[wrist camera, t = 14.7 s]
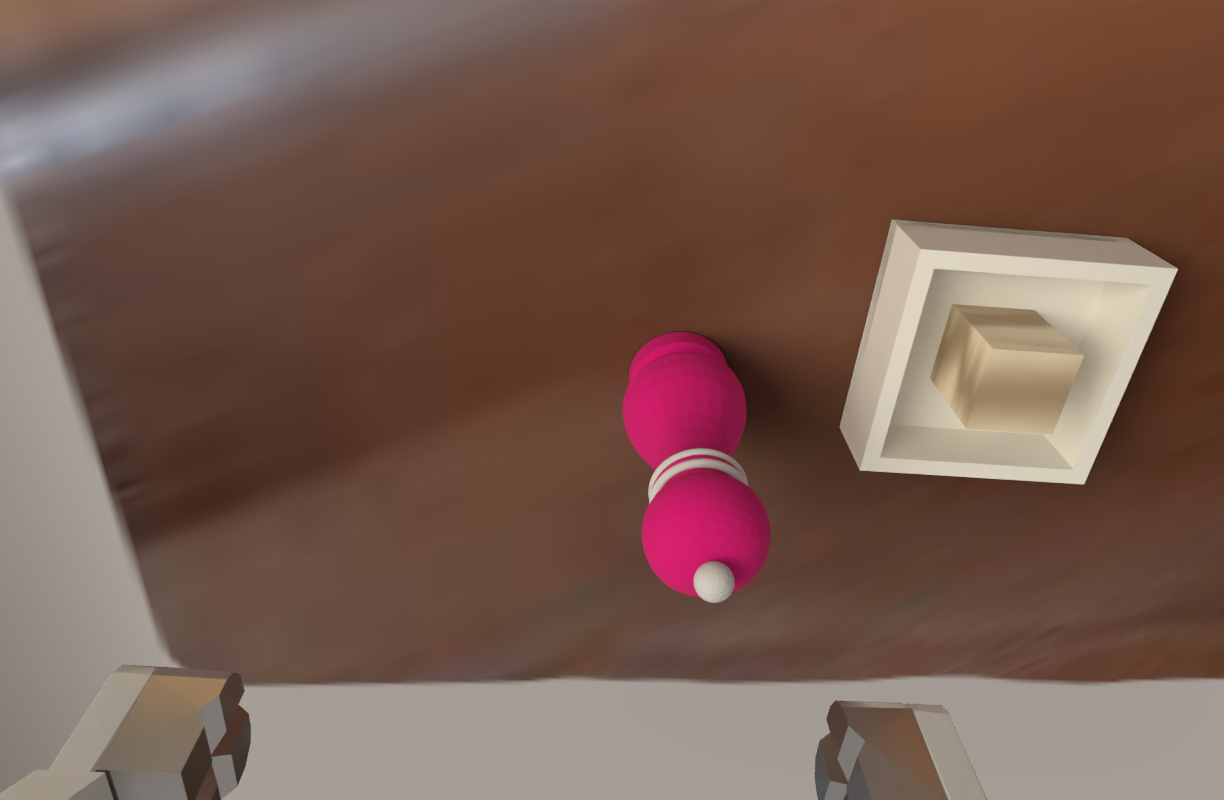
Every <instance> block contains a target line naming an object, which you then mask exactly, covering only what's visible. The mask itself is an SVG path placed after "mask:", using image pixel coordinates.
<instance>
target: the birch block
mask: <svg viewBox="0 0 1224 800" xmlns="http://www.w3.org/2000/svg"><path fill="white" fill-rule="evenodd" d="M1083 357H1084V354H1082V353H1081V352H1080V351H1079V350H1078V349H1077V348H1076V347H1075V346H1074V345H1072V344H1071V343H1070V342H1069V341H1068V340H1067V339H1066V338H1065V337H1064V336H1062V335H1061V334H1060V333H1059V332H1058V331H1057V330H1056V329H1055V328H1054V327H1053V326H1051V325H1050V324H1049V323H1048V322H1047V321H1046V320H1045V319H1044V318H1043V317H1041V316H1040V315H1039V314H1038V313H1037V312H1036V311H1035V310H1028V309H1014V308H1000V307H987V306H973V305H959V304H952V307H951V310H950V313H949V317H948V320H947V323H946V326H945V330H944V333H943V336H942V340H941V343H940V346H939V349H938V353H937V356H936V359H935V363H934V366H933V369H932V373H931V376H930V379H931V381H932V382H933V383H934V385H935V386H936V388H937V389H938V390H939V392H940V393H941V395H942V396H943V397H944V399H945V400H946V402H947V403H948V404H949V406H950V407H951V409H952V410H953V411H954V413H955V414H956V415H957V417H958V418H959V420H960V421H961V422H962V424H963V425H964V427H965V428H966V429H976V430H991V431H1007V432H1022V433H1037V434H1052V435H1053V432H1054V430H1055V427H1056V425H1057V422H1058V420H1059V417H1060V415H1061V412H1062V410H1063V407H1064V405H1065V402H1066V400H1067V397H1068V395H1069V392H1070V390H1071V387H1072V385H1073V382H1074V380H1075V377H1076V375H1077V372H1078V370H1079V367H1080V365H1081V362H1082V360H1083Z"/></svg>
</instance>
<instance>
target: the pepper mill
mask: <svg viewBox="0 0 1224 800" xmlns="http://www.w3.org/2000/svg"><path fill="white" fill-rule="evenodd" d="M746 413H747V409H746V402H745V395H744V391H743V388H742V385H741V383H740V382H739V380H738V378H737V377H736V375H735V374H734V373H733V371H732V370H731V369H730V368H729V367H728V366H727V363H726V360H725V357H724V355H723V354H722V352H721V351H720V349H719V348H718V347H717V346H716V345H715V344H714V343H712V342H711V341H710V340H709V339H707V338H705V337H703V336H701V335H698V334H695V333H690V332H671V333H667V334H663V335H661V336H658V337H656V338H654V339H652V340H651V341H649V342H648V343H647V344H645V345H644V346H643V347H642V348H641V349H640V350H639V351H638V353H637V354H636V356H635V357H634V359H633V361H632V364H631V366H630V371H629V385H628V387H627V390H626V393H625V397H624V400H623V418H624V423H625V427H626V431H627V435H628V437H629V439H630V441H631V443H632V444H633V446H634V448H635V449H636V451H637V452H638V454H639V455H640V456H641V457H642V458H643V459H644V460H645V461H646V462H647V463H648V464H649V465H650V466H651V467H652V468H653V469H654V470H655V472H654V473H653V476H652V478H651V480H650V483H649V491H648V494H649V505H648V507H647V509H646V511H645V516H644V520H643V524H642V541H643V547H644V552H645V555H646V557H647V560H648V562H649V564H650V566H651V568H652V569H653V571H654V572H655V573H656V575H657V576H658V577H659V578H660V579H661V580H662V582H664V583H665V584H666V585H668V586H669V587H671V588H673V589H675V590H676V591H678V592H680V593H683V594H686V595H690V596H695V597H701V598H702V599H704V600H705V601H708V602H712V603H717V602H721V601H724V600H725V599H727V598H728V597H729V596H730V594H731V593H734V592H736V591H738V590H739V589H741V588H743V587H744V586H746V585H747V584H748V583H749V582H750V581H752V580H753V579H754V578H755V576H756V575H757V574H758V573H759V571H760V570H761V568H762V566H763V565H764V562H765V560H766V558H767V554H768V550H769V546H770V535H771V532H770V524H769V520H768V516H767V513H766V510H765V508H764V506H763V504H762V502H761V500H760V499H759V497H758V496H757V495H756V494H755V492H754V491H753V490H752V489H751V488H750V487H749V486H748V482H747V477H746V474H745V472H744V471H743V469H742V467H741V466H740V465H739V464H738V463H737V462H736V461H735V460H734V459H733V458H732V455H733V453H734V452H735V450H736V448H737V447H738V445H739V443H740V441H741V438H742V435H743V431H744V427H745V423H746Z"/></svg>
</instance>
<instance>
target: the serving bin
mask: <svg viewBox="0 0 1224 800" xmlns="http://www.w3.org/2000/svg"><path fill="white" fill-rule="evenodd" d="M1177 270H1178V268H1176V267H1174V266H1173V265H1171V264H1169V263H1168V262H1166V261H1164V260H1163V259H1161V258H1159V257H1158V256H1156V255H1154V254H1153V253H1151V252H1150V251H1148V250H1146V249H1145V248H1143V247H1141V246H1140V245H1138V244H1136V243H1135V242H1133V241H1131V240H1130V239H1128V238H1122V237H1109V236H1096V235H1084V234H1071V233H1058V232H1045V231H1033V230H1020V229H1007V228H994V227H982V226H969V225H956V224H943V223H931V222H918V221H905V220H892V221H891V225H890V229H889V233H888V237H887V241H886V245H885V249H884V253H883V257H882V260H881V264H880V268H879V272H878V276H877V280H876V284H875V288H874V292H873V296H872V300H871V304H870V308H869V312H868V316H867V320H866V324H865V328H864V332H863V336H862V340H861V344H860V348H859V351H858V355H857V359H856V363H855V367H854V371H853V375H852V379H851V383H850V387H849V391H848V395H847V399H846V403H845V407H844V411H843V415H842V419H841V423H840V429H841V432H842V434H843V436H844V438H845V440H846V442H847V444H848V446H849V449H850V451H851V453H852V455H853V457H854V459H855V461H856V463H857V465H858V468H859V470H862V471H878V472H894V473H910V474H926V475H942V476H958V477H974V478H990V479H1007V480H1023V481H1039V482H1055V483H1071V484H1084V483H1085V481H1086V479H1087V476H1088V474H1089V472H1090V470H1091V467H1092V465H1093V463H1094V460H1095V458H1096V456H1097V454H1098V451H1099V449H1100V447H1101V444H1102V442H1103V440H1104V438H1105V435H1106V433H1107V431H1108V428H1109V426H1110V424H1111V421H1112V419H1113V417H1114V415H1115V412H1116V410H1117V408H1118V405H1119V403H1120V401H1121V399H1122V396H1123V394H1124V392H1125V389H1126V387H1127V385H1128V383H1129V380H1130V378H1131V376H1132V373H1133V371H1134V369H1135V367H1136V364H1137V362H1138V360H1139V357H1140V355H1141V353H1142V350H1143V348H1144V346H1145V344H1146V341H1147V339H1148V337H1149V334H1150V332H1151V330H1152V328H1153V325H1154V323H1155V321H1156V318H1157V316H1158V314H1159V312H1160V309H1161V307H1162V305H1163V302H1164V300H1165V298H1166V296H1167V293H1168V291H1169V289H1170V286H1171V284H1172V282H1173V279H1174V277H1175V275H1176V273H1177ZM952 304H959V305H973V306H987V307H1000V308H1014V309H1028V310H1035V311H1036V312H1037V313H1038V314H1039V315H1040V316H1041V317H1043V318H1044V319H1045V320H1046V321H1047V322H1048V323H1049V324H1050V325H1051V326H1053V327H1054V328H1055V329H1056V330H1057V331H1058V332H1059V333H1060V334H1061V335H1062V336H1064V337H1065V338H1066V339H1067V340H1068V341H1069V342H1070V343H1071V344H1072V345H1074V346H1075V347H1076V348H1077V349H1078V350H1079V351H1080V352H1081V353H1082V354H1084V357H1083V360H1082V362H1081V365H1080V367H1079V370H1078V372H1077V375H1076V377H1075V380H1074V382H1073V385H1072V387H1071V390H1070V392H1069V395H1068V397H1067V400H1066V402H1065V405H1064V407H1063V410H1062V412H1061V415H1060V417H1059V420H1058V422H1057V425H1056V427H1055V430H1054V432H1053V435H1052V434H1037V433H1022V432H1007V431H991V430H976V429H966V428H965V427H964V425H963V424H962V422H961V421H960V420H959V418H958V417H957V415H956V414H955V413H954V411H953V410H952V409H951V407H950V406H949V404H948V403H947V402H946V400H945V399H944V397H943V396H942V395H941V393H940V392H939V390H938V389H937V388H936V386H935V385H934V383H933V382H932V381H931V379H930V376H931V373H932V369H933V366H934V363H935V359H936V356H937V353H938V349H939V346H940V343H941V340H942V336H943V333H944V330H945V326H946V323H947V320H948V317H949V313H950V310H951V307H952Z"/></svg>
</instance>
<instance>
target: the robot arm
mask: <svg viewBox="0 0 1224 800" xmlns="http://www.w3.org/2000/svg"><path fill="white" fill-rule="evenodd" d="M243 693H244V686H243V682H242V678H241V674H239V673H235V672H224V671H211V670H197V669H184V668H169V667H151V666H136V665H121V666H120V667H119V668H118V669H116V670H115V671H114V672H113V673H112V674H111V675H110V676H109V677H108V679H107V680H106V682H105V684H104V685H103V687H102V688H101V690H100V691H99V693H98V694H97V696H96V697H95V699H94V700H93V702H92V703H91V705H90V707H89V708H88V710H87V711H86V713H85V714H84V716H83V717H82V719H81V720H80V722H79V723H78V725H77V727H76V728H75V730H74V731H73V733H72V734H71V736H70V737H69V739H68V740H67V742H66V743H65V745H64V746H63V748H62V750H61V751H60V753H59V754H58V756H57V757H56V759H55V760H54V762H53V763H52V765H51V766H50V768H49V769H48V770H45V769H44V770H43V769H36V770H35V771H33V772H32V773H30V774H29V775H27V776H26V777H24V778H23V779H21V780H20V781H18V782H17V783H16V784H14V785H12V786H11V787H9V788H8V789H6V790H5V791H3V792H2V793H0V800H221V799H222V798H223V797H225V796H226V795H227V794H228V793H229V792H231V791H232V790H233V789H235V788H236V787H237V786H238V784H239V781H240V779H241V776H242V774H243V771H244V769H245V766H246V762H247V757H248V752H249V748H250V742H251V741H250V740H251V724H250V718H249V714H248V713H247V712H246V711H245V710H244V709H243V708H242V707H240V706H239V705H238V704H239V702H240V700H241V698H242V695H243ZM826 719H827V723H828V726H829V730H830V733H829V734H828V735H826V736H825V737H824V738H822V739H821V740H820V742H819V745H818V749H817V753H816V757H815V784H816V791H817V797H818V800H987V798H986V796H985V794H984V792H983V789H982V787H981V785H980V782H979V780H978V778H977V776H976V774H975V771H974V769H973V767H972V765H971V762H970V760H969V758H968V756H967V754H966V751H965V749H964V747H963V745H962V742H961V740H960V738H959V736H958V733H957V731H956V729H955V727H954V725H953V722H952V720H951V718H950V716H949V713H948V711H947V710H946V709H945V708H943V707H942V706H941V705H922V704H903V703H888V702H860V701H835V702H834V703H833V704H832V705H831V706H830V709H829V712H828V715H827V718H826Z"/></svg>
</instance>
